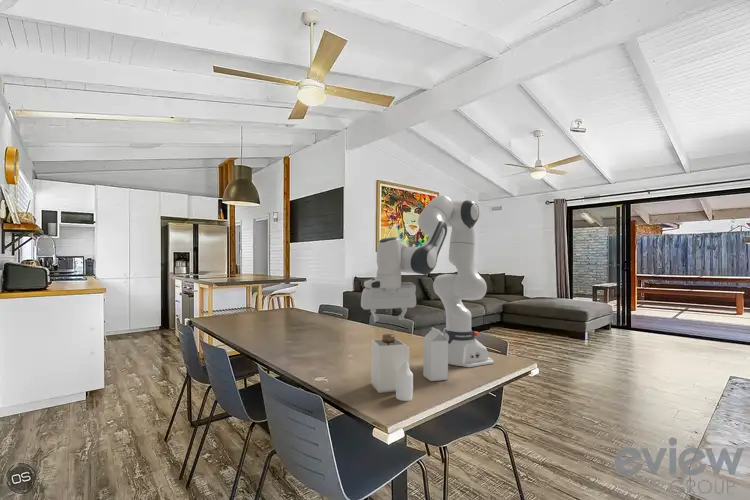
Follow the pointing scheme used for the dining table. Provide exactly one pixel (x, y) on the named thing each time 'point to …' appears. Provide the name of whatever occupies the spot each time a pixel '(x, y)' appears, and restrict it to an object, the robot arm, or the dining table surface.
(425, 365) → the milk carton
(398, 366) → the open-top square canister
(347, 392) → the dining table surface
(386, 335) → the plunger
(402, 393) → the white bottle
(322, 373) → the dining table surface
